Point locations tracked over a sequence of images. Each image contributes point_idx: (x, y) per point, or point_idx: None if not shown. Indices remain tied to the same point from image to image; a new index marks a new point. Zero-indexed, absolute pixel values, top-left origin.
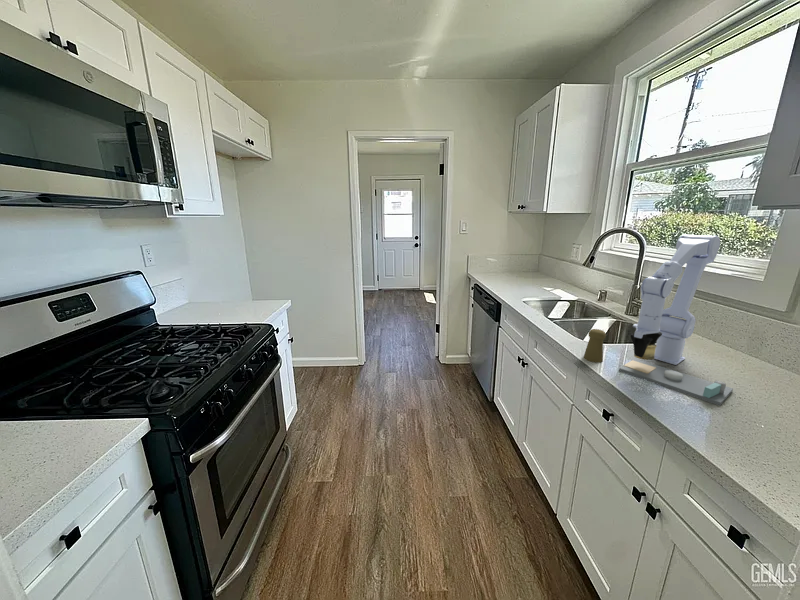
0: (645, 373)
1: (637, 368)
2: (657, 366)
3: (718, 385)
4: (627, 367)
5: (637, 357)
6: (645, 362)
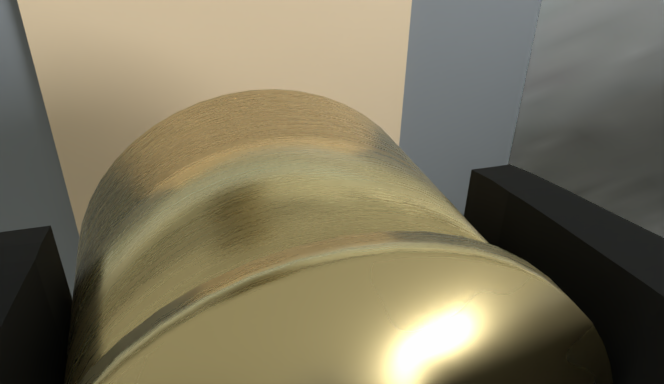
0: (68, 251)
1: (117, 133)
2: (459, 206)
3: None
4: (4, 14)
5: (84, 229)
6: (494, 70)
